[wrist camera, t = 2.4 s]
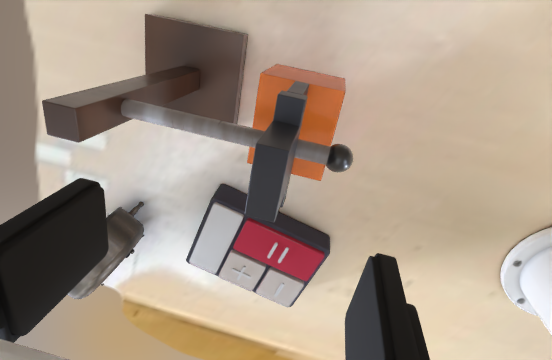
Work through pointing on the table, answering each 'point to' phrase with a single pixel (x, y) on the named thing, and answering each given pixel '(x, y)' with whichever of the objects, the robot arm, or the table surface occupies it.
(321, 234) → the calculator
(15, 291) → the robot arm
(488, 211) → the table surface
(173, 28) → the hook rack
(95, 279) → the alarm clock
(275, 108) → the orange square box
